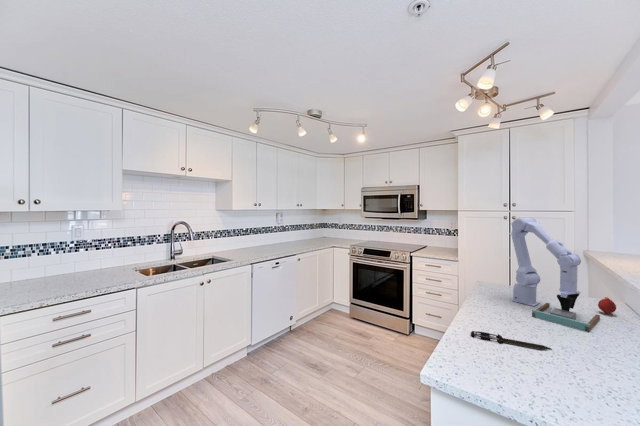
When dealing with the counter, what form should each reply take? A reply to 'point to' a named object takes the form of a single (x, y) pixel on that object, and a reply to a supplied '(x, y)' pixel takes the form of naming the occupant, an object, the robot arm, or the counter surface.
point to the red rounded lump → (607, 305)
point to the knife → (508, 340)
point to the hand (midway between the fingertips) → (567, 309)
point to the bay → (564, 319)
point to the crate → (564, 313)
